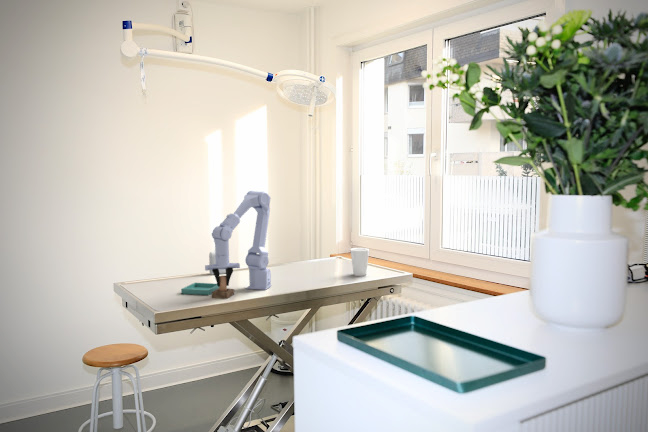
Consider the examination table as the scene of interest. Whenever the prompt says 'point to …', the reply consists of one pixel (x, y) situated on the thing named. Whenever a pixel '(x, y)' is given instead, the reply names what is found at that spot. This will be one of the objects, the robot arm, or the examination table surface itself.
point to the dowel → (223, 283)
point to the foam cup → (359, 260)
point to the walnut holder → (222, 293)
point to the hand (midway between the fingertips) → (222, 285)
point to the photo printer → (213, 261)
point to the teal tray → (199, 289)
